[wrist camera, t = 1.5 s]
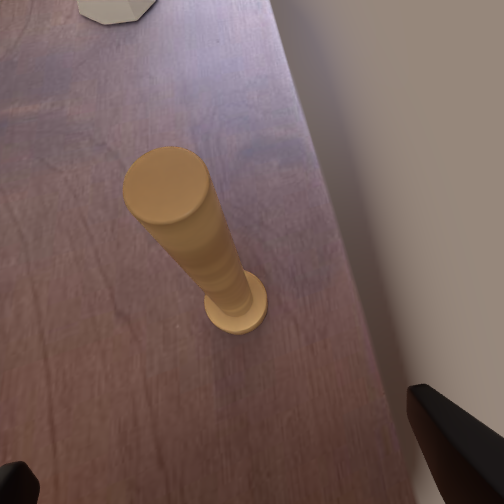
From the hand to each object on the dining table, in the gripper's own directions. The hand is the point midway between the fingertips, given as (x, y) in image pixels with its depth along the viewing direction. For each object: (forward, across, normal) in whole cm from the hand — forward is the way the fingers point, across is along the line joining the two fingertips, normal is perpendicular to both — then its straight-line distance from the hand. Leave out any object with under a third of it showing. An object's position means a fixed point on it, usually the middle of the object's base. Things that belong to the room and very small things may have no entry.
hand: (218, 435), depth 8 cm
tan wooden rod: (+12, 0, +5) cm, 13 cm away
